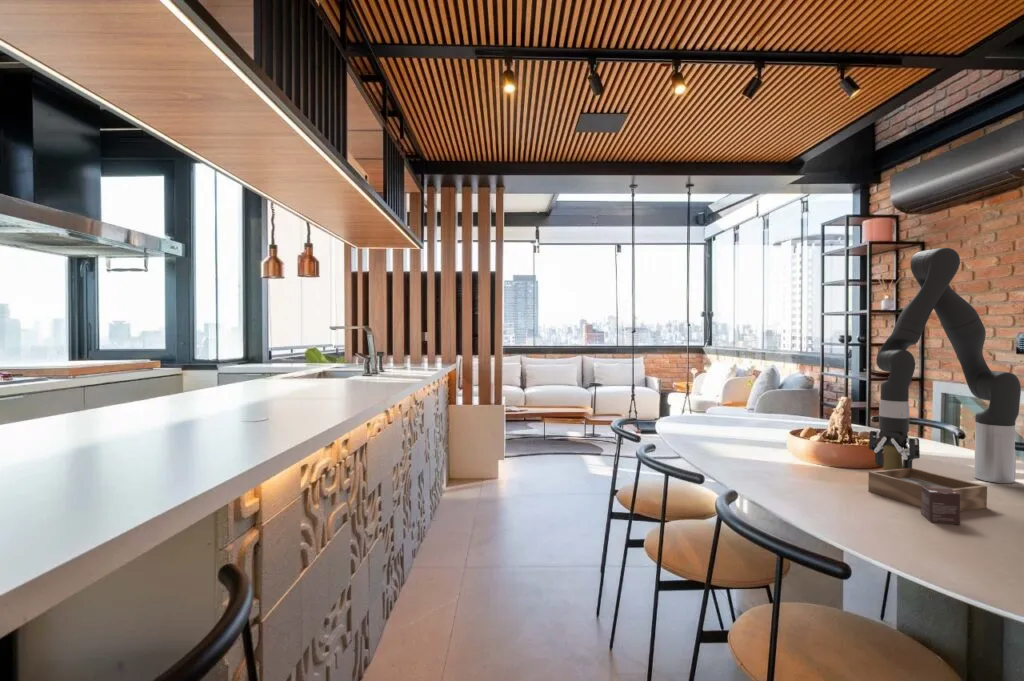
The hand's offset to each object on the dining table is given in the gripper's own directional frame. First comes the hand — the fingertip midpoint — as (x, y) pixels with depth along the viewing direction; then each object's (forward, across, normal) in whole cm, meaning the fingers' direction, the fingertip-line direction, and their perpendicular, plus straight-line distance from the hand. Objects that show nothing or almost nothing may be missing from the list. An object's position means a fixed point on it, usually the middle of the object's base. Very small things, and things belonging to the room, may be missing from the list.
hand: (892, 468), depth 167 cm
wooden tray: (+4, -16, +9) cm, 19 cm away
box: (+4, -29, +22) cm, 37 cm away
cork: (+4, 0, 0) cm, 4 cm away
